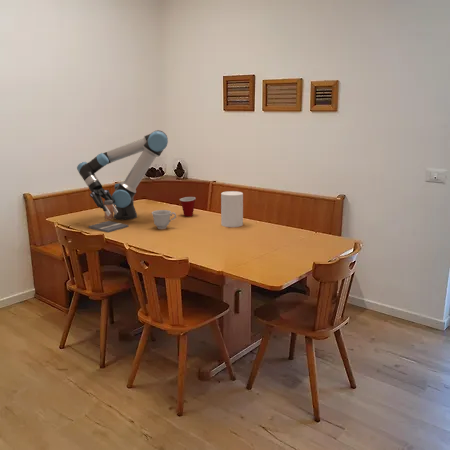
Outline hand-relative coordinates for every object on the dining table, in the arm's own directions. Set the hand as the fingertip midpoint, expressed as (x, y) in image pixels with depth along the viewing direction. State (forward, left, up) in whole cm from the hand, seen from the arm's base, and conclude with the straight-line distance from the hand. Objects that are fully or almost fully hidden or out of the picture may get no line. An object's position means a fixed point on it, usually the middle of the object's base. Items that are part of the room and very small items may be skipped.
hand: (113, 213), depth 295 cm
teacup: (-19, +24, -10) cm, 32 cm away
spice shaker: (0, -4, -3) cm, 5 cm away
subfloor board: (0, -5, -9) cm, 11 cm away
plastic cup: (-52, +15, -10) cm, 55 cm away
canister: (-50, +53, -10) cm, 73 cm away
